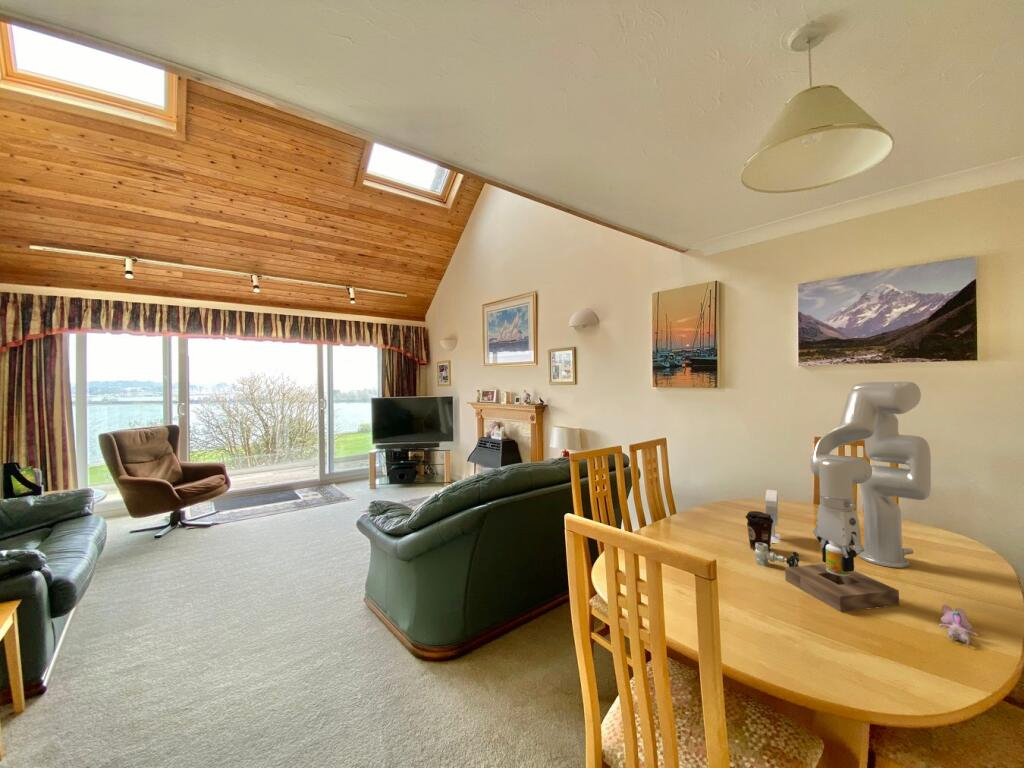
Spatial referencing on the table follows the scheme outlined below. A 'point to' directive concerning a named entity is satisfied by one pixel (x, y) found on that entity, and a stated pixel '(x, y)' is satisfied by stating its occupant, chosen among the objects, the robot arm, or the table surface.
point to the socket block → (842, 588)
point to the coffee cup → (759, 528)
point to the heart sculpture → (773, 512)
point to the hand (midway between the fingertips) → (837, 565)
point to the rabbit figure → (957, 625)
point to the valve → (772, 556)
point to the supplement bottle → (835, 559)
